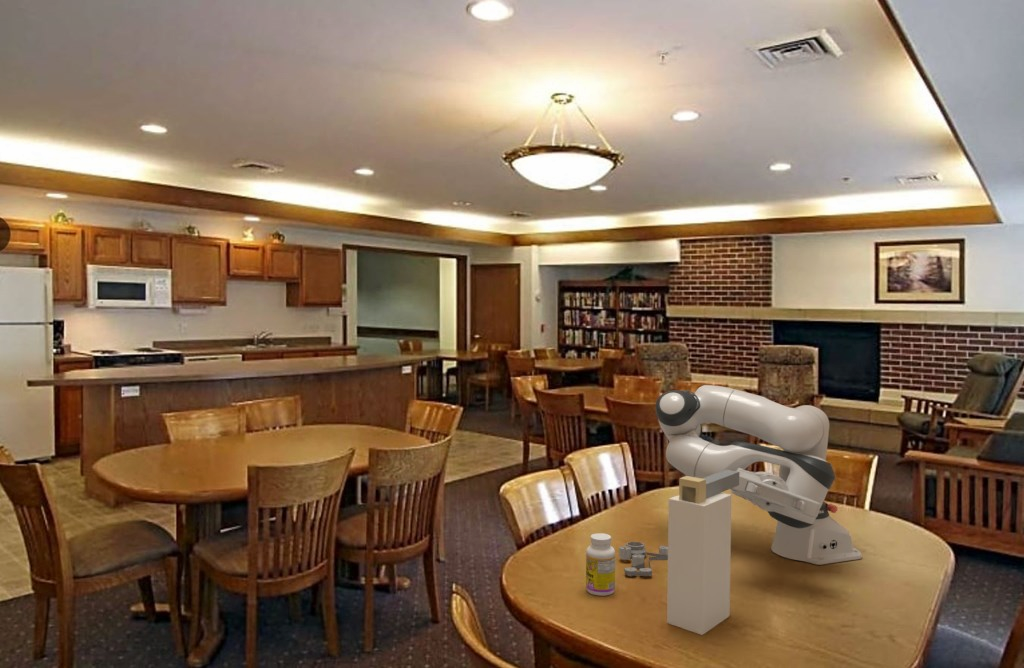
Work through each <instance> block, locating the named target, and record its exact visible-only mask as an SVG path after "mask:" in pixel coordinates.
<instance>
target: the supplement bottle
mask: <svg viewBox="0 0 1024 668" xmlns="http://www.w3.org/2000/svg"><path fill="white" fill-rule="evenodd" d="M590 543H591V544H590V545H589V546H588V547H587V548H586V551H585V552H586V553H585V554H586V555H585V559H586V560H585V561H586V562H585V563H586V564H585V589H586V591H587V592H588V594H591V595H593V596H596V595H597V596H598V597H604V596H605V597H606V596H610V595H611V596H612V595H613V594H614V592H615V589H616V550H615V548H614V547H613V546H612V545H611V543H612V535H609V534H607V533H603V532H601V533H600V532H599V533H597V532H596V533H592V534H591V535H590Z"/></svg>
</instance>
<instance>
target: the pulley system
mask: <svg viewBox="0 0 1024 668" xmlns="http://www.w3.org/2000/svg"><path fill="white" fill-rule="evenodd" d="M645 546H646V545H645V543H643V542H639V541H629V542H626V544H625V545H621V546H619V547H618V559H621V560H625V561H626V560H630V561H631V567H624V569H623V572H624V574H625V575H626V576H628V577H629V576H631V577H630V578H633V577H634V576H643V577H650V576H652V574H653V570H652V565H651V561H668V545H660V546H658V553H655V552H647V549H646V548H645ZM646 556H649V557H648V563H649V565H648V566H649V567H645V565H646V564H645V558H646ZM631 559H632V560H631ZM632 566H633V567H632ZM638 569H639V571H638Z"/></svg>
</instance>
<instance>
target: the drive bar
mask: <svg viewBox="0 0 1024 668" xmlns="http://www.w3.org/2000/svg"><path fill="white" fill-rule="evenodd" d="M738 485H739V472H738V471H732V470H724V471H722V472H719V473H716V474H713V475H711V476H708V477H705V478H702V479H701V478H696V477H690V476H687V475H685V476H682V477H679V483H678V489H679V490H678V495H679V500H684V501H688V502H693V503H698V504H699V503H701V502H704V501H706V499H707V498H709V497H711V496H714V495H716V494H719V493H725V492H726V491H728V490H730V489H731V488H733V487H736V486H738Z"/></svg>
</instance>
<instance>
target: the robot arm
mask: <svg viewBox="0 0 1024 668" xmlns="http://www.w3.org/2000/svg"><path fill="white" fill-rule="evenodd" d="M655 415H656V418H657V420H658V424H659V426H660V428H661V431H662V432H663V433H664V435H665V437H666V439H667V442H668V444H667V446H666V450H665V457H666V460H667V462H668V463H669V464H670V465H671V466H672V467H674V468H675V469H676V470H678V471H679V472H681V473H682V474H684V475H685V476H690V477H696V478H701V479H702V478H705V477H708V476H711V475H713V474H716V473H719V472H722V471H724V470H732V471H738V472H739V485H738V486H736V487H733V488H731V489H729V490H730V493H732V494H733V495H735V496H738V497H739V498H742V499H744V500H747V501H749V503H751V504H752V505H754V506H756V507H758V508H759V509H761V510H763V511H766V512H767V513H768V514H769V516H770V517H771V518H773V519H775V520H776V527H775V533H774V537H773V541H772V545H771V547H770V549H771V552H773V553H775V554H776V555H778V556H781V557H783V558H786V559H790V560H795V561H801V562H805V563H810V564H813V565H817V566H818V565H827V564H833V563H839V562H840V563H841V562H848V561H855V560H861V559H862V558H863V557H862V552H861V551H860V550H858V548H855V547H854V546H853V542H852V536H851V533H850V532H849V531H848V530H847V529H846V528H845V527H844V526H843V525H841V524H840V523H839V522H838V521H837V520H836V519H834V518H833V517H832V516H831V515H830V513H832V514H836V513H837V512H838V507H837V505H834V504H832V503H829V504H828V502H826V501H825V500H826V499H825V498H826V496H827V494H828V492H829V490H830V489H831V487H832V485H833V483H834V482H835V479H836V475H835V471H834V469H833V466H832V464H831V462H828V461H827V460H826V459H827V450H828V445H829V443H828V442H829V433H830V431H829V430H830V420H829V417H828V415H827V413H826V412H824V411H823V410H822V409H820V408H818V407H816V406H813V405H808V404H807V405H806V404H803V405H800V406H796V407H790V406H785V405H783V404H780V403H777V402H775V401H773V400H771V399H769V398H767V397H765V396H763V395H757V394H756V393H755V394H754V393H750V392H747V391H743V390H739V389H734V388H732V387H728V386H722V385H721V386H720V385H714V384H712V385H710V384H704V385H701V386H700V387H698V388H697V389H696V391H695V392H693V391H691V390H689V389H684V390H678V389H674V390H673V389H672V390H668V391H665V392H663V393H662V394H660V396H658V397H657V399H656V402H655ZM704 424H715V425H718V426H721V427H724V428H728V429H732V430H734V431H738V432H741V433H744V434H747V435H750V436H754V437H756V438H758V439H760V440H762V441H764V442H766V443H768V444H771V445H773V446H775V447H778V449H777V448H773V447H769V446H765V445H761V444H756V443H755V444H754V443H751V442H746V441H733V442H732V443H731V444H729V445H718V444H715V443H713V442H710V441H707V440H705V439H704V438H702V435H703V426H702V425H704ZM779 448H780V449H779ZM757 462H763V463H768V464H771V465H776V466H779V469H778V475H776V474H773V473H772V472H771V473H770V472H767V471H753V470H752V471H751V470H748V469H747V468H748V467H749V466H751V465H753V464H755V463H757ZM829 512H830V513H829Z"/></svg>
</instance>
